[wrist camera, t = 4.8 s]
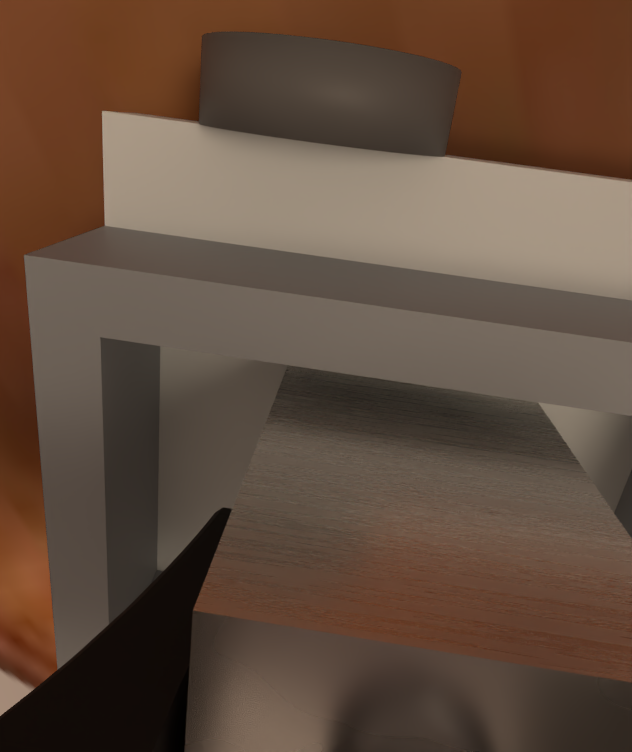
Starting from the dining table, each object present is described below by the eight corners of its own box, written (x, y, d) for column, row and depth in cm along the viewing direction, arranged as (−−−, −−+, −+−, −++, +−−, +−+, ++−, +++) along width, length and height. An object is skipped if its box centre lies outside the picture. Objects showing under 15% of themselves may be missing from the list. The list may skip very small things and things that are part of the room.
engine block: (527, 387, 10) (825, 820, 3) (474, 577, 11) (612, 1130, 5) (293, 352, 10) (155, 706, 4) (270, 544, 11) (143, 1040, 5)
